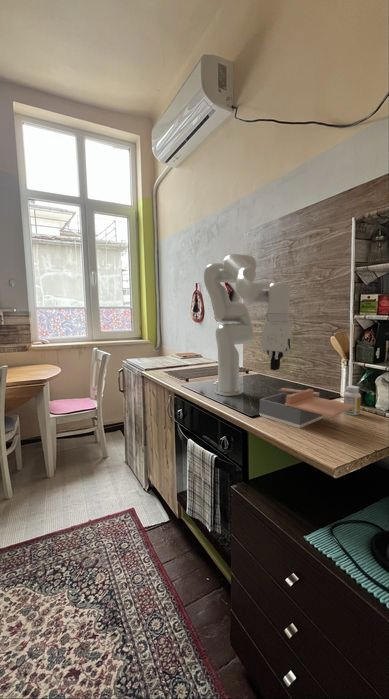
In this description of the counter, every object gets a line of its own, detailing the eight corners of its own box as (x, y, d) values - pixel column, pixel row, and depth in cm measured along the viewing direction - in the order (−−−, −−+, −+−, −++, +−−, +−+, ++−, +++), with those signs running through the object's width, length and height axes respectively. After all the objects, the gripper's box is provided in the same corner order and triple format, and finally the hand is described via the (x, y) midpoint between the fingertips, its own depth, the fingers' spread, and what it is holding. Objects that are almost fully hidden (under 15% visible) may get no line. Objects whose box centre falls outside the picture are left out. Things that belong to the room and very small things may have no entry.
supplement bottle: (355, 410, 114) (356, 385, 113) (362, 415, 109) (364, 388, 108) (340, 410, 114) (341, 385, 113) (347, 415, 109) (348, 388, 108)
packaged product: (275, 390, 128) (282, 385, 137) (275, 401, 129) (281, 396, 137) (321, 395, 119) (325, 390, 127) (321, 408, 119) (325, 401, 128)
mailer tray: (259, 415, 110) (259, 399, 109) (282, 407, 119) (283, 392, 118) (299, 428, 98) (300, 409, 97) (322, 418, 107) (323, 401, 106)
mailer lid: (284, 405, 101) (284, 395, 101) (308, 397, 110) (309, 388, 110) (332, 417, 89) (333, 406, 88) (355, 407, 98) (355, 397, 98)
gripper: (254, 317, 112) (252, 367, 115) (290, 320, 101) (286, 375, 104) (267, 317, 117) (264, 364, 120) (302, 319, 106) (299, 371, 109)
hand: (274, 369), depth 112 cm, fingers closed
